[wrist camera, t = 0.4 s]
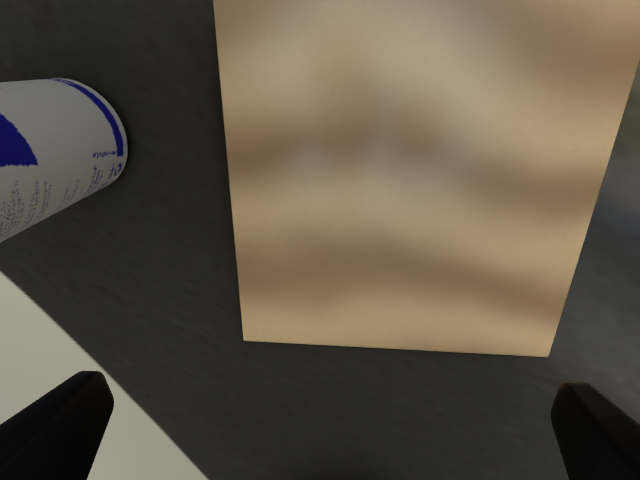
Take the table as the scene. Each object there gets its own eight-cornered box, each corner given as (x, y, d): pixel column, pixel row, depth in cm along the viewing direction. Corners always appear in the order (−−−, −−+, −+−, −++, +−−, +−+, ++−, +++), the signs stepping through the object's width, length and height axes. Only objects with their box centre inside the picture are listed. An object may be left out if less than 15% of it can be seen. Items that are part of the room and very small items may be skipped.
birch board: (541, 346, 24) (548, 357, 23) (247, 330, 26) (243, 341, 25) (679, -122, 15) (699, -133, 14) (209, -113, 16) (201, -122, 15)
